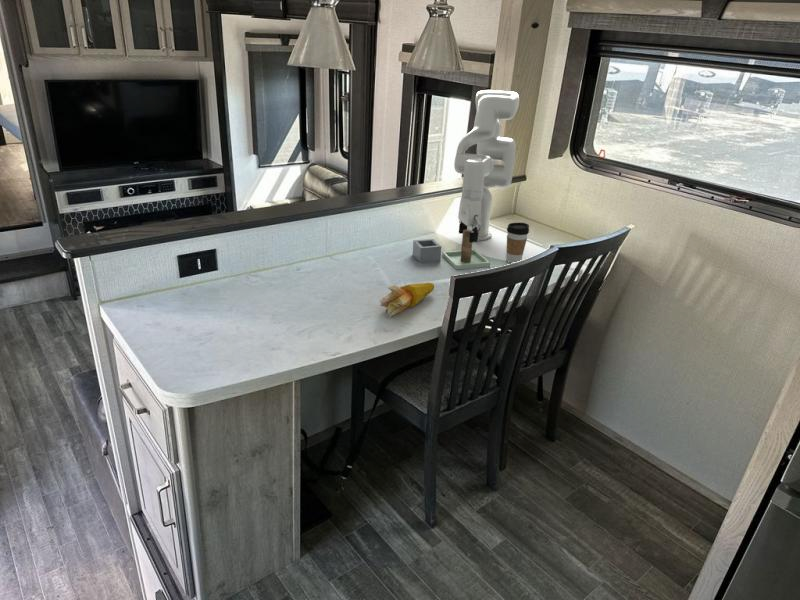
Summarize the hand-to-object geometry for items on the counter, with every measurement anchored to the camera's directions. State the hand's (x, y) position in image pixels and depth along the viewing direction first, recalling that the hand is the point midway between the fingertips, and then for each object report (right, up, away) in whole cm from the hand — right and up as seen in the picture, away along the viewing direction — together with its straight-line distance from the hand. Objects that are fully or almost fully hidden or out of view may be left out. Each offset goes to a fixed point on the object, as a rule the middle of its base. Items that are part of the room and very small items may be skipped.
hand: (467, 237), depth 219 cm
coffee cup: (+19, -8, +9) cm, 23 cm away
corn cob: (-23, -26, -30) cm, 46 cm away
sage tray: (0, -9, +5) cm, 10 cm away
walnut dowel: (0, -8, +4) cm, 10 cm away
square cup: (-16, -8, +6) cm, 18 cm away
